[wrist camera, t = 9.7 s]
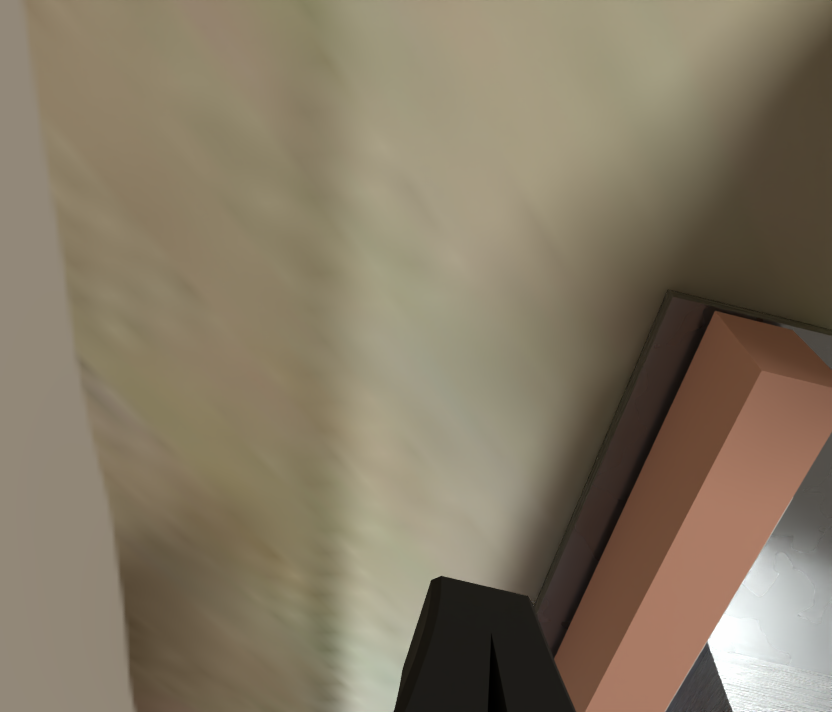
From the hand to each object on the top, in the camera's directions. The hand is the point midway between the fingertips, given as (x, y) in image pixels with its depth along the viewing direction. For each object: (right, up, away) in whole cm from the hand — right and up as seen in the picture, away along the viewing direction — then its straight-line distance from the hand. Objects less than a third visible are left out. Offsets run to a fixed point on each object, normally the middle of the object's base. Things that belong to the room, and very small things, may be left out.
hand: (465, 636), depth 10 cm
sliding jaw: (+6, -3, +11) cm, 13 cm away
